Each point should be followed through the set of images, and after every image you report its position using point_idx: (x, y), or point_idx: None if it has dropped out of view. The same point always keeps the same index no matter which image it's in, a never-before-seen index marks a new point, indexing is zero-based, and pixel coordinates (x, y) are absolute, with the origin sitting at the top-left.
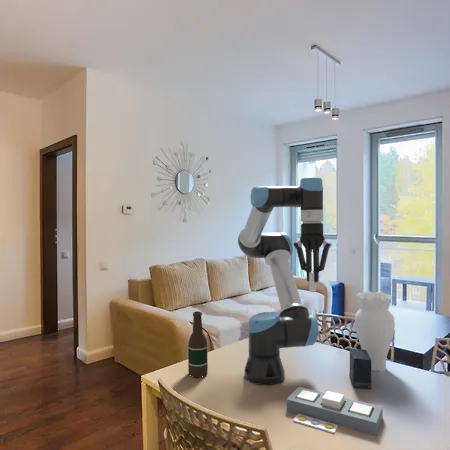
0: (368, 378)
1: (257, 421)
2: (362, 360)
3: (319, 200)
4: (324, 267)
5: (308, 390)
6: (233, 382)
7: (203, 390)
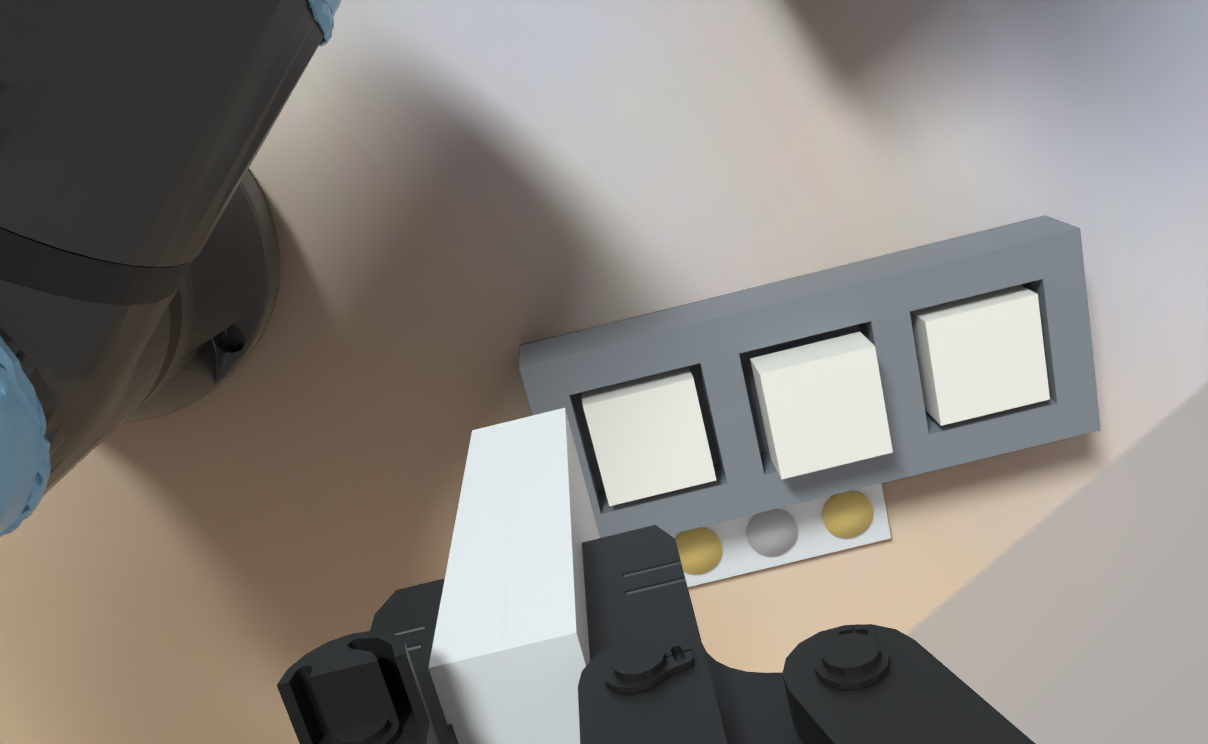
0: None
1: None
2: None
3: None
4: (954, 686)
5: (604, 366)
6: None
7: (24, 696)
